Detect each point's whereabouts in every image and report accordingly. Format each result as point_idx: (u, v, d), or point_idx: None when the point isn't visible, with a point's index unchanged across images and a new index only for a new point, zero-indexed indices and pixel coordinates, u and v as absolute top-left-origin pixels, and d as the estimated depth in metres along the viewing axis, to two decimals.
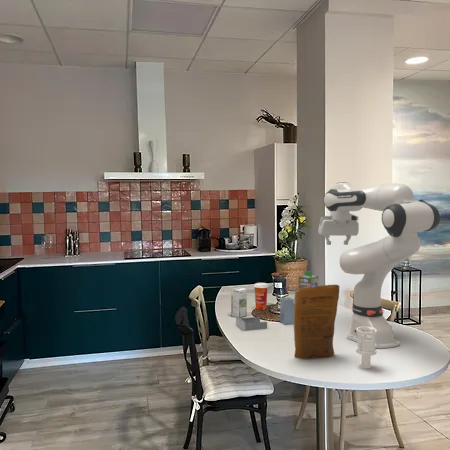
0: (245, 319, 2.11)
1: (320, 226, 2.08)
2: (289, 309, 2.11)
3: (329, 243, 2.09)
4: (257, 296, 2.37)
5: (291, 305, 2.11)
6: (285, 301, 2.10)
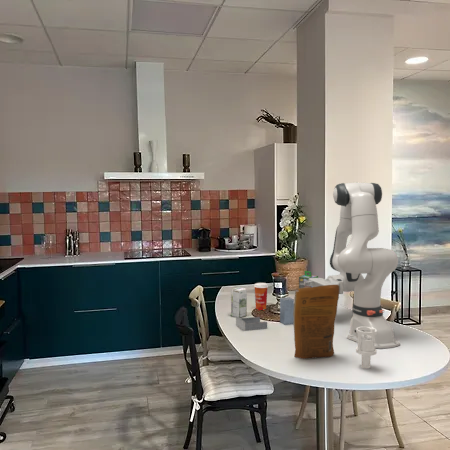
0: (245, 319, 2.11)
1: None
2: (289, 309, 2.11)
3: (305, 282, 2.21)
4: (257, 296, 2.37)
5: (291, 305, 2.11)
6: (285, 301, 2.10)
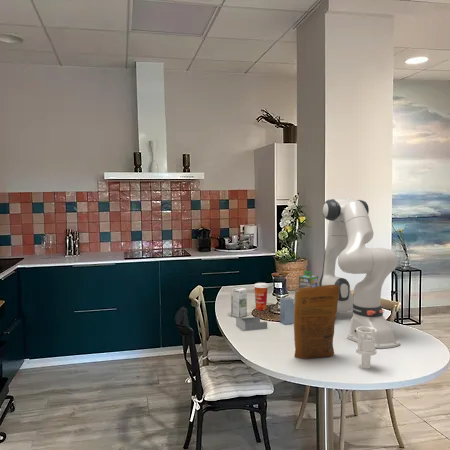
0: (245, 319, 2.11)
1: None
2: (289, 309, 2.11)
3: None
4: (257, 296, 2.37)
5: (291, 305, 2.11)
6: (285, 301, 2.10)
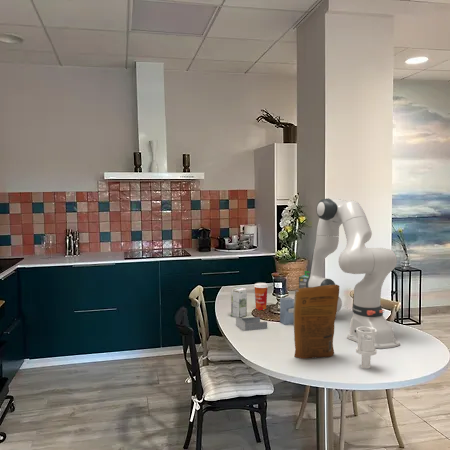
0: (245, 319, 2.11)
1: None
2: None
3: None
4: (257, 296, 2.37)
5: (291, 305, 2.11)
6: (285, 301, 2.10)
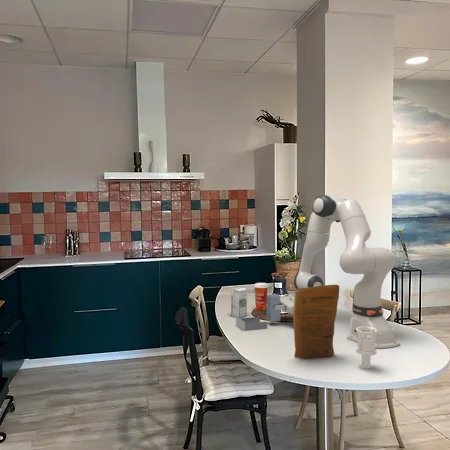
0: (245, 319, 2.11)
1: None
2: None
3: None
4: (257, 296, 2.37)
5: (277, 302, 2.09)
6: (271, 298, 2.08)
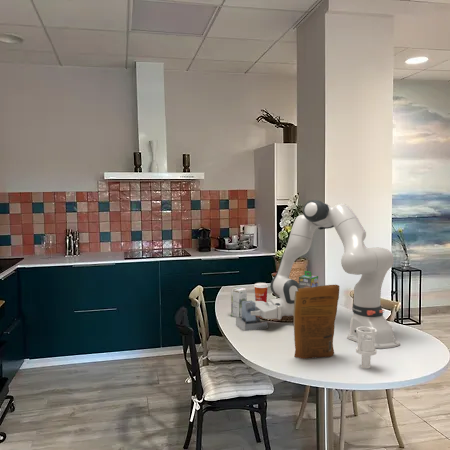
0: None
1: None
2: None
3: None
4: (257, 296, 2.37)
5: (252, 309, 2.05)
6: (246, 304, 2.04)
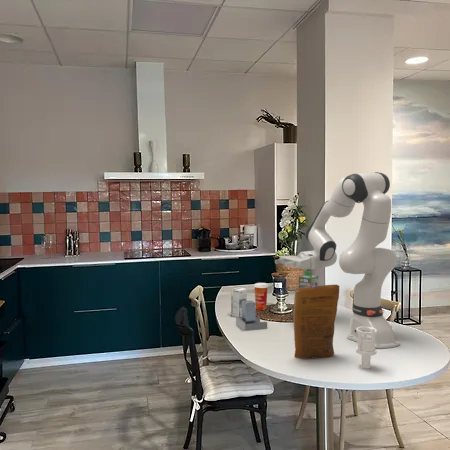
0: None
1: None
2: (250, 313, 2.05)
3: (276, 260, 2.15)
4: (257, 296, 2.37)
5: (252, 309, 2.05)
6: (246, 304, 2.04)
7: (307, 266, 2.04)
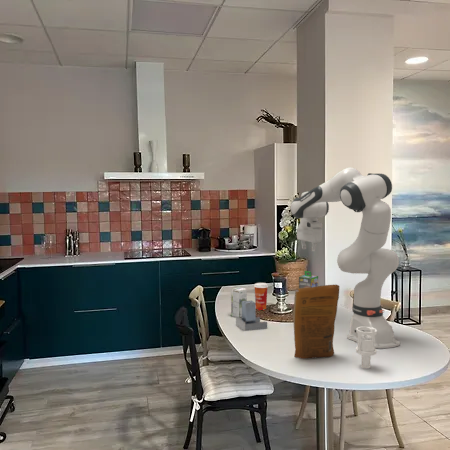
0: None
1: None
2: (250, 313, 2.05)
3: (302, 247, 2.28)
4: (257, 296, 2.37)
5: (252, 309, 2.05)
6: (246, 304, 2.04)
7: (320, 233, 2.14)
